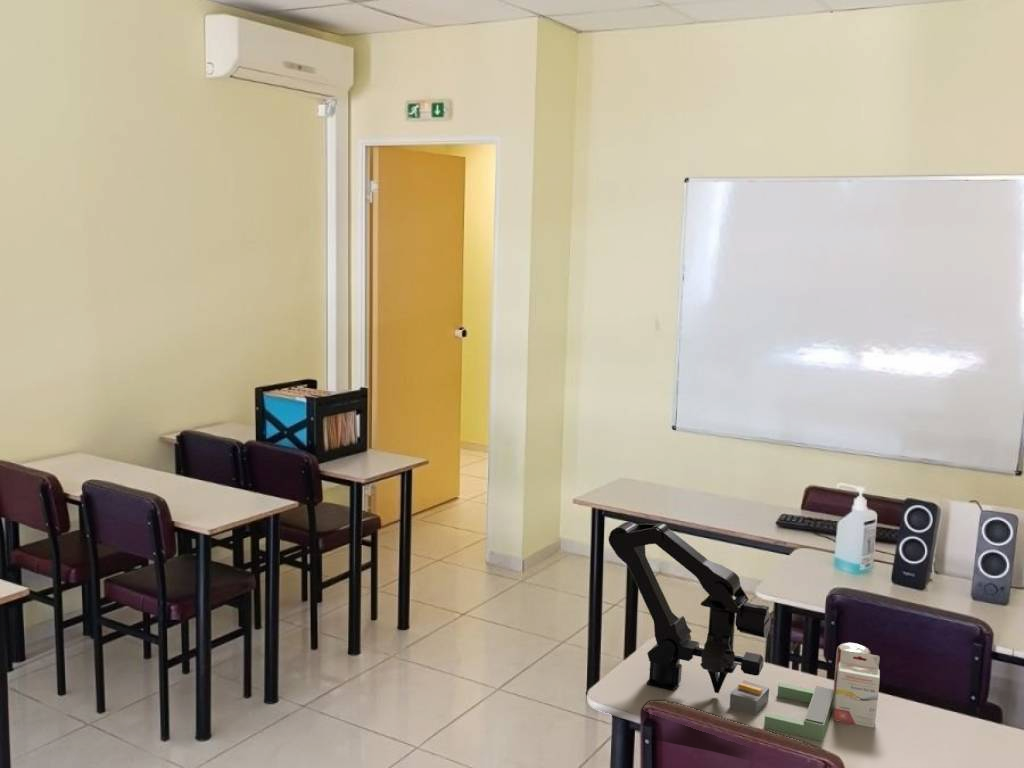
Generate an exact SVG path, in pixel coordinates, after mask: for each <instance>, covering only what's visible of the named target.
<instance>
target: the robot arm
mask: <svg viewBox="0 0 1024 768" xmlns="http://www.w3.org/2000/svg"><path fill="white" fill-rule="evenodd" d="M608 543H609V545H610V547H611V549H612V550H613V552H614V553H615V555H616V556H617V557H618V558H619V559H620V560H621V561H622V562H624V563H625V564H626V566H627V567H628V569H629V571H630V574H631V575H632V578H633V581H634V582H635V584H636V587H637V588H638V590H639V593H640V595H641V597H642V599H643V601H644V604H645V606H646V608H647V610H648V612H649V614H650V617H651V618H652V621H653V626H654V627H653V628H654V629H653V630H654V637H655V638H654V639H655V641H656V643H655V645H654V646H652V647H651V649H649V650H648V652H647V657H648V661H649V676H648V680H647V681H646V685H648V686H653V687H656V688H662V689H665V690H670V691H674V690H675V689H676V688H677V686H678V685H679V684H680V682H681V681H682V672H683V671H682V670H683V669H682V667H683V665H682V663H681V661H687V662H691V660H692V659H694V656H695V657H699V658H701V663H700V667H701V669H703V670H706V671H707V673H708V675H709V677H710V681H711V684H712V688H713V691H714V693H715V694H719V693H720V691H721V689H722V687H723V684H724V682H725V680H726V677H727V675H729V674H734V671H735V669H736V668H737V666H740V670H741V671H742V673H743V674H747V675H750V676H751V675H752V676H760V674H761V671H762V670H763V667H764V661H765V660H764V659H765V658H764V657H763V656H762V654H759V653H754V652H749V651H746V652H745V653H744V655H743V656H740V655H738V654H735V651H734V641H735V640H734V639H735V630H737V631H739V633H741V634H746V635H751V636H754V637H759V638H764V639H766V638H768V635H769V633H770V630H771V624H772V623H771V622H772V618H771V613H770V611H769V609H770V607H769V606H768V605H765V604H764V605H763V604H762V605H761V604H760V605H759V604H755V603H750V602H749V601H750V600H749V599H750V598H749V597H748V596H747V594H746V592H745V591H744V589H743V587H742V585H741V581H740V577H739V576H738V574H737V572H734V571H733V570H731V569H730V568H728V567H726V566H724V565H722V564H720V563H719V564H718V563H716V562H713V561H711V560H710V559H707V557H705V556H704V555H702V554H701V552H699V551H698V550H696V548H694V547H693V546H691V545H690V544H689V543H687V542H686V541H685V540H684V539H682V538H681V537H680V536H679V535H678V534H676V533H675V532H674V531H672V530H671V529H670V527H669V526H668V525H667V524H665V523H661V522H660V523H634V522H633V521H625V522H623V523H621V524H620V525H618V526H616V527H615V528H613V529H612V530H611V531H610V532H609V535H608ZM648 545H656V546H657V547H659V548H660V549H661V550H663V551H664V552H665V553H666V554H667V555H669V556H670V558H672V559H673V560H674V561H676V562H677V563H679V564H680V565H681V566H682V567H683V568H685V569H686V570H687V571H688V572H690V573H691V574H692V575H694V577H695V578H697V580H698V581H699V584H700V586H701V587H702V589H703V590H704V591H705V592H706V593H707V594H708V596H707V597H706V598H704V599H703V600H702V601H701V602H700V606H702V607H705V608H709V612H708V613H709V615H708V616H709V617H708V632H707V636H706V641H705V643H704V646H703V647H700V642H699V641H694V640H692V636H691V633H692V630H691V629H690V627H689V626H688V624H687V620H686V618H685V616H683V615H682V616H680V617H678V616H677V615H675V613H673V611H672V610H671V607H670V605H669V603H668V601H667V599H666V596H665V595H664V593H663V590H662V588H661V586H660V584H659V582H658V580H657V577H656V575H655V573H654V570H653V569H652V567H651V564H650V562H649V561H648V558H647V556H646V546H648ZM734 597H735V599H734ZM735 628H736V629H735Z"/></svg>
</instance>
